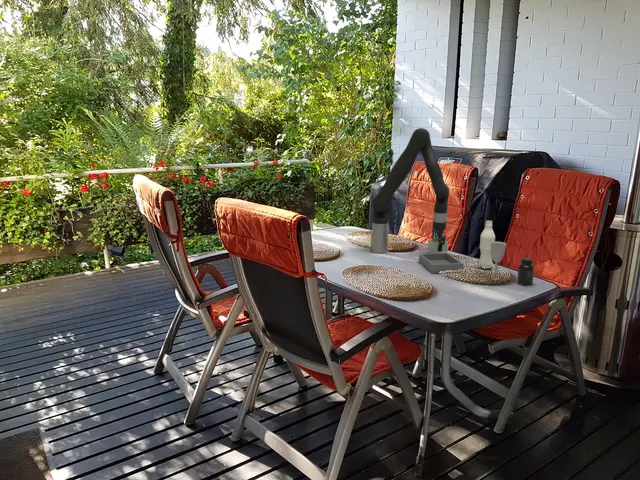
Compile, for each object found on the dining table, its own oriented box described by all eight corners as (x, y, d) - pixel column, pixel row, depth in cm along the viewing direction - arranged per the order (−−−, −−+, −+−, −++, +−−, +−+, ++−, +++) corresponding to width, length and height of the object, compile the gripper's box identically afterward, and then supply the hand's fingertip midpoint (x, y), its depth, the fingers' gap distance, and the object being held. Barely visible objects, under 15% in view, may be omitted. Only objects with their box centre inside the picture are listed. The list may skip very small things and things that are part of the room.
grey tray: (432, 273, 244) (433, 265, 243) (418, 262, 263) (419, 254, 262) (463, 272, 246) (463, 263, 245) (446, 260, 266) (447, 252, 264)
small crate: (431, 252, 271) (432, 242, 269) (427, 249, 276) (428, 240, 275) (447, 251, 272) (448, 242, 271) (442, 249, 278) (443, 239, 276)
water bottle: (493, 267, 254) (497, 220, 248) (491, 271, 248) (495, 223, 242) (478, 265, 257) (482, 219, 251) (476, 269, 251) (480, 221, 244)
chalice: (502, 277, 237) (506, 242, 233) (503, 282, 231) (506, 245, 227) (487, 276, 240) (490, 241, 235) (486, 280, 234) (490, 244, 229)
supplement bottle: (532, 282, 231) (535, 258, 228) (532, 286, 225) (535, 262, 222) (517, 280, 234) (519, 256, 231) (516, 284, 228) (519, 260, 225)
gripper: (428, 218, 276) (426, 246, 280) (438, 223, 262) (436, 253, 267) (441, 217, 277) (438, 246, 281) (451, 223, 263) (449, 253, 268)
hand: (437, 249), depth 274 cm, fingers closed on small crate, 6 cm apart
